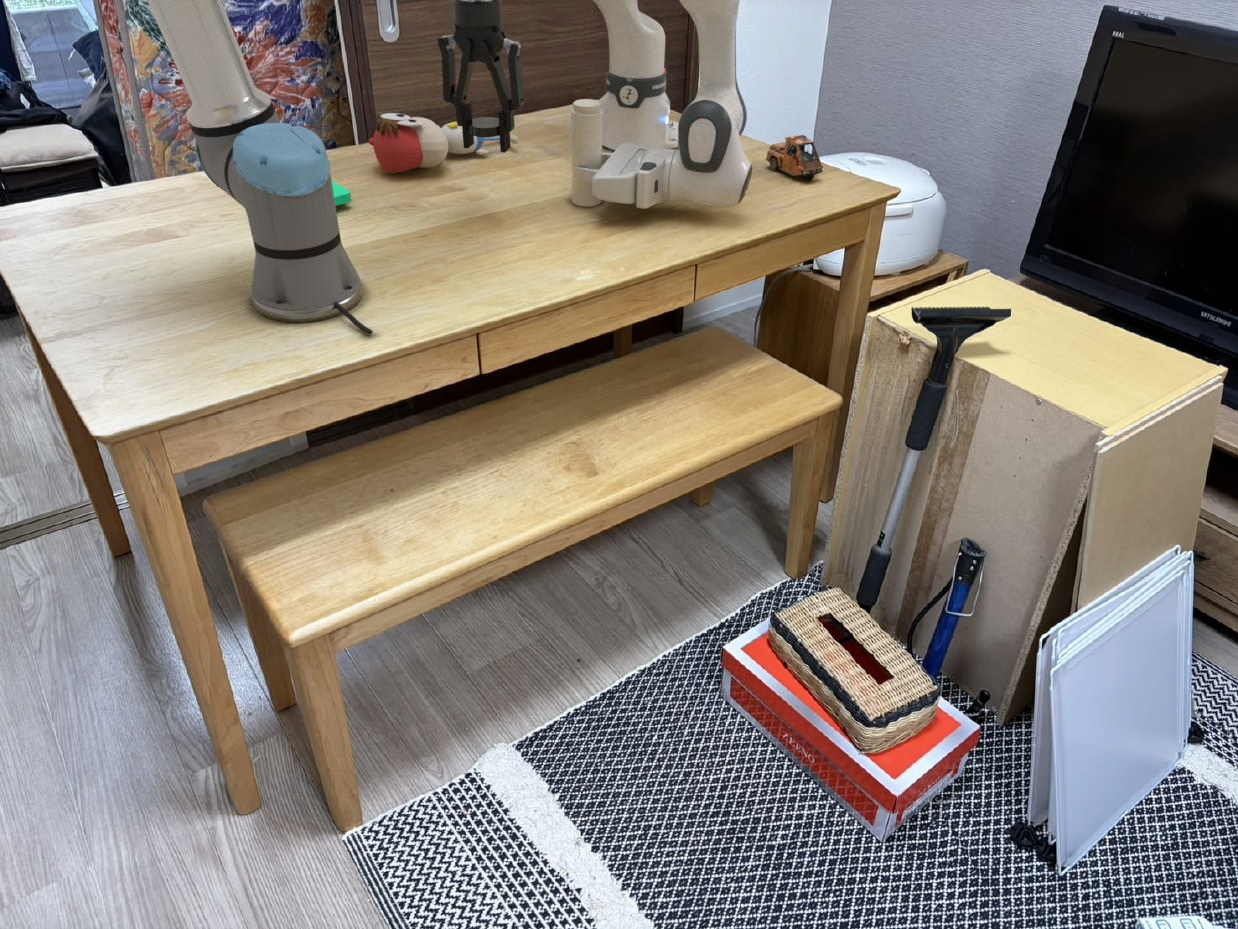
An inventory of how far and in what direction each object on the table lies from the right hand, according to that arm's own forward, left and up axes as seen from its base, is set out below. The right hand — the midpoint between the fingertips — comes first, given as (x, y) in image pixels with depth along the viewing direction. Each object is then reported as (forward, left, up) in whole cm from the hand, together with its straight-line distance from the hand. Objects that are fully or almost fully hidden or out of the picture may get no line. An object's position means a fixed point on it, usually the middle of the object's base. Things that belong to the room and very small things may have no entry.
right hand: (581, 165), depth 164 cm
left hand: (+10, -14, +5) cm, 18 cm away
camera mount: (+16, -44, -6) cm, 47 cm away
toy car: (-27, +35, -6) cm, 45 cm away
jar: (0, +1, -6) cm, 6 cm away
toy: (-12, -32, -6) cm, 35 cm away
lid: (+10, -14, +9) cm, 19 cm away
